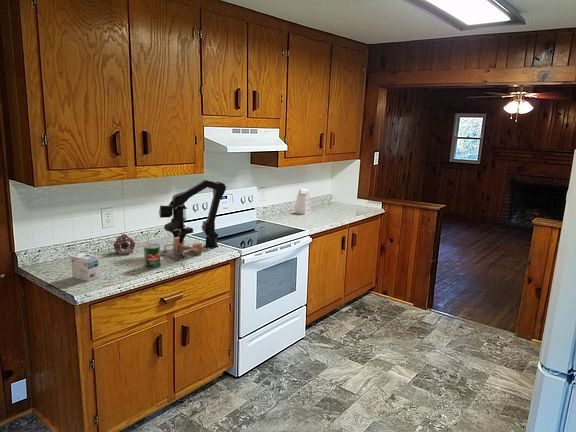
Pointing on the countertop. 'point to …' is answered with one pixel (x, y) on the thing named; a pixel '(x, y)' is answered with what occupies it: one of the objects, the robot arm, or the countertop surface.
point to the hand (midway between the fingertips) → (178, 243)
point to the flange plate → (174, 255)
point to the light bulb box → (85, 266)
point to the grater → (302, 203)
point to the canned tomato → (152, 256)
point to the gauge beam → (190, 249)
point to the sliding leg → (176, 243)
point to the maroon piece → (124, 245)
